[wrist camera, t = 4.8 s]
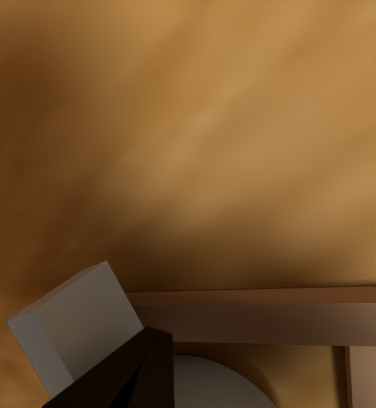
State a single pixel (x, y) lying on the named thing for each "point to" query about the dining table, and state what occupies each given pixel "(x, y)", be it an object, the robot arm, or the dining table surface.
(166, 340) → the robot arm
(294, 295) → the frame
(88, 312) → the jug
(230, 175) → the dining table surface
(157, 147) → the dining table surface
